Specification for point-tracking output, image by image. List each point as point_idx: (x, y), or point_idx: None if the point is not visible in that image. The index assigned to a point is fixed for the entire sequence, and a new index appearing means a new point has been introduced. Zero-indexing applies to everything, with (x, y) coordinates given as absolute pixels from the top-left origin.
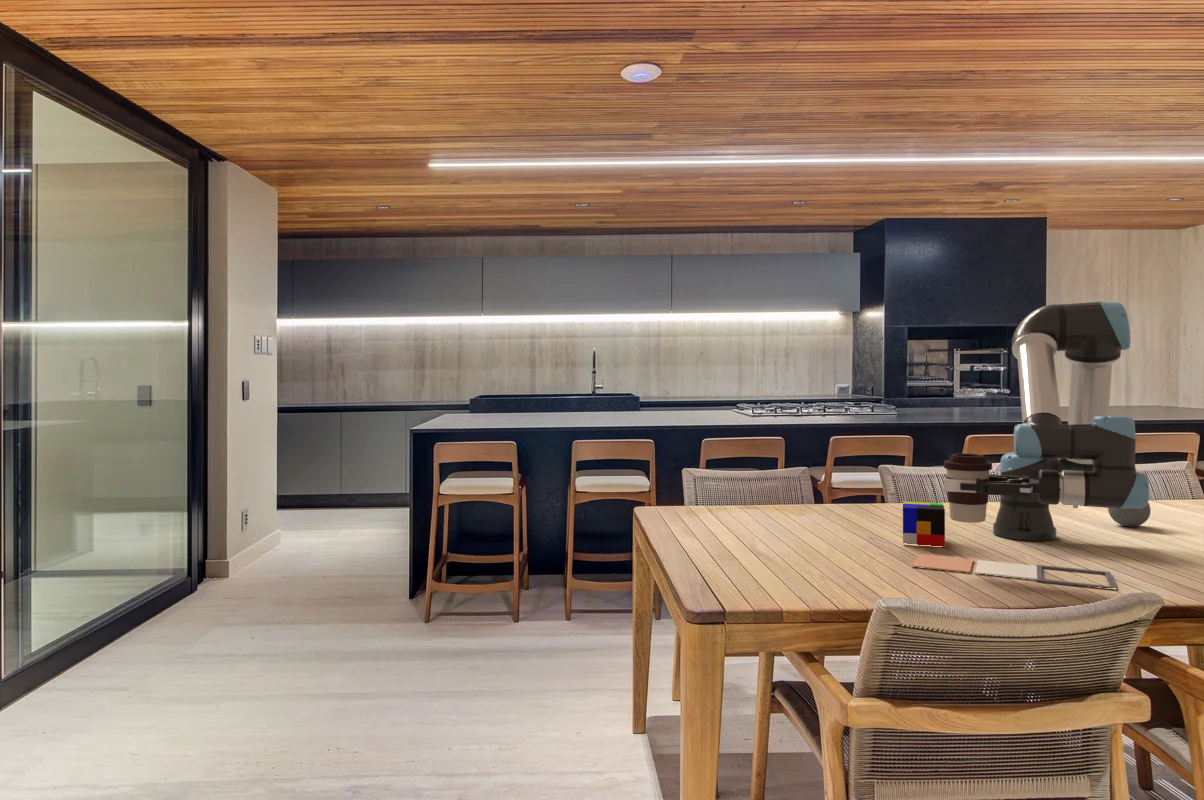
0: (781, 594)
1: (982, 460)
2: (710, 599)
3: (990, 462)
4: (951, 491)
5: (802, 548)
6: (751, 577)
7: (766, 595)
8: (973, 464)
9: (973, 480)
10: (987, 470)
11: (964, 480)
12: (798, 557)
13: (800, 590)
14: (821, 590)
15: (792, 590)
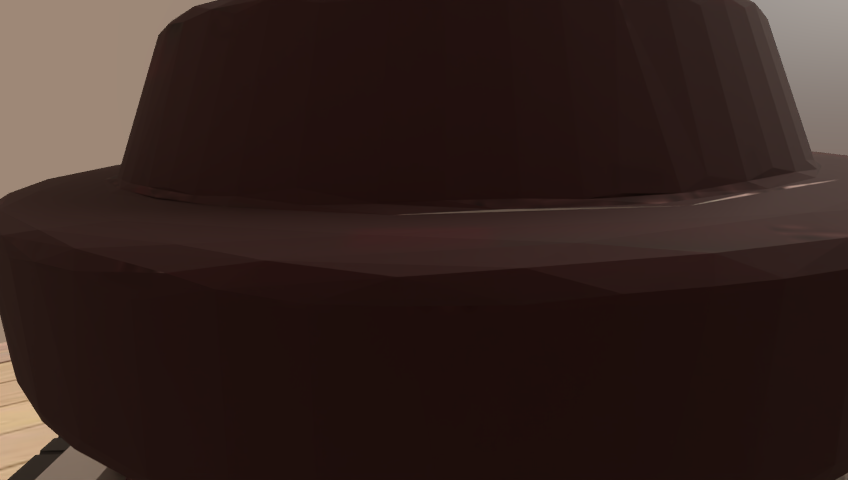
0: (3, 418)
1: (205, 111)
2: (3, 357)
3: (572, 239)
4: None
5: None
6: None
7: (3, 403)
8: (44, 181)
9: (72, 459)
10: (80, 449)
11: None
12: None
13: (31, 437)
14: (17, 469)
15: (35, 426)
